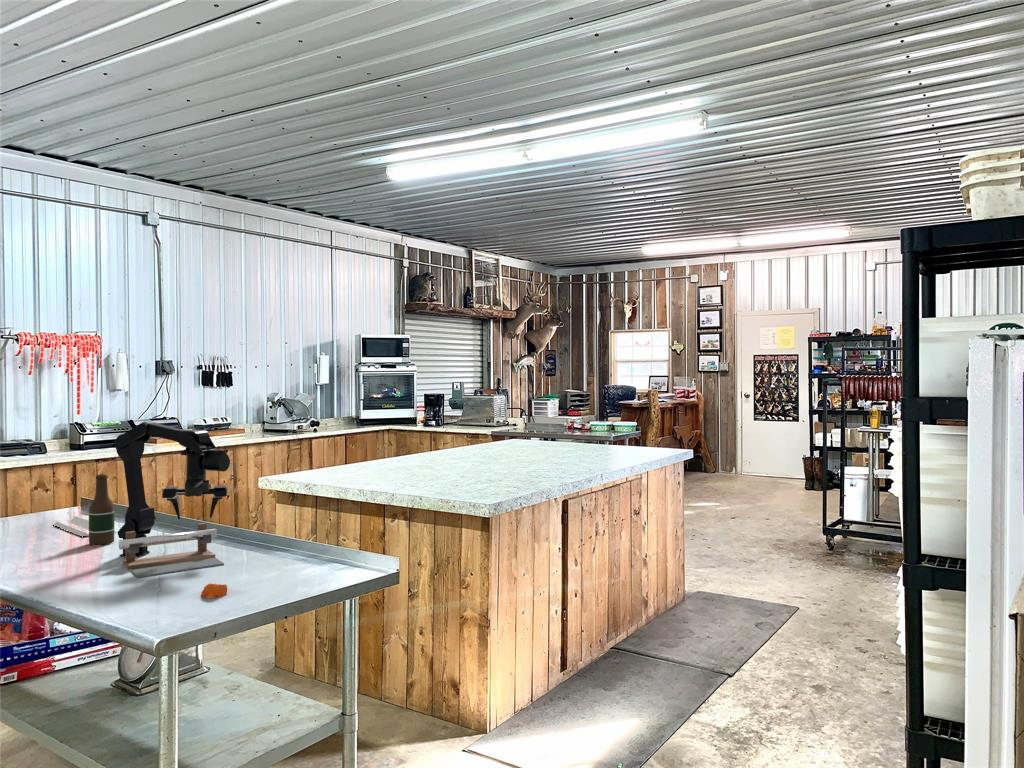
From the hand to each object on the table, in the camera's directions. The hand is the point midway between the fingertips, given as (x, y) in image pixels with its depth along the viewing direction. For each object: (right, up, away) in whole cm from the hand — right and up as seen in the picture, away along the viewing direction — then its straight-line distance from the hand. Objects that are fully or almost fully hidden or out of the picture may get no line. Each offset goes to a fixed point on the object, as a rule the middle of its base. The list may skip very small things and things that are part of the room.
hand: (195, 518), depth 227 cm
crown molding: (-62, -14, +45) cm, 78 cm away
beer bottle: (-42, -13, +22) cm, 49 cm away
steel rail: (-7, -7, -3) cm, 10 cm away
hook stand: (-7, -13, -3) cm, 15 cm away
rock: (+22, -14, -38) cm, 46 cm away
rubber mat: (0, -13, -11) cm, 17 cm away
